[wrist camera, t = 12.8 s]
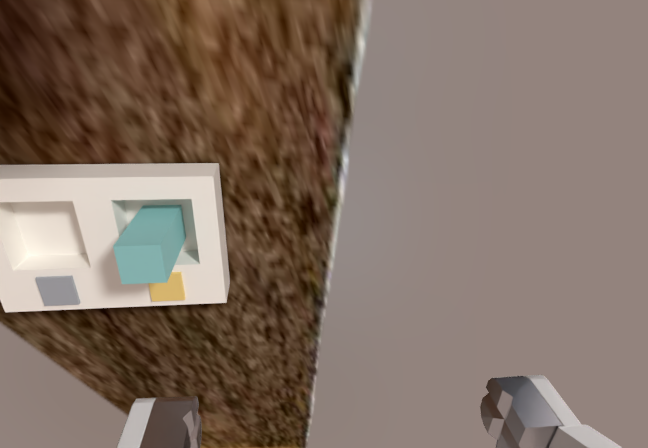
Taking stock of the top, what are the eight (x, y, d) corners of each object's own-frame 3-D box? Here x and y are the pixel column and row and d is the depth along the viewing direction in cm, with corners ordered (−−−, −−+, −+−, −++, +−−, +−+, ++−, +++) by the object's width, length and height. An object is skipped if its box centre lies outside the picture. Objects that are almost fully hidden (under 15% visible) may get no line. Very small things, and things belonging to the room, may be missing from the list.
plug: (142, 205, 37) (112, 246, 30) (181, 204, 37) (160, 244, 30) (149, 238, 38) (122, 284, 31) (186, 237, 38) (167, 282, 32)
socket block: (-21, 165, 35) (-53, 180, 31) (218, 163, 37) (212, 177, 33) (26, 289, 40) (3, 314, 37) (229, 282, 42) (225, 304, 39)
